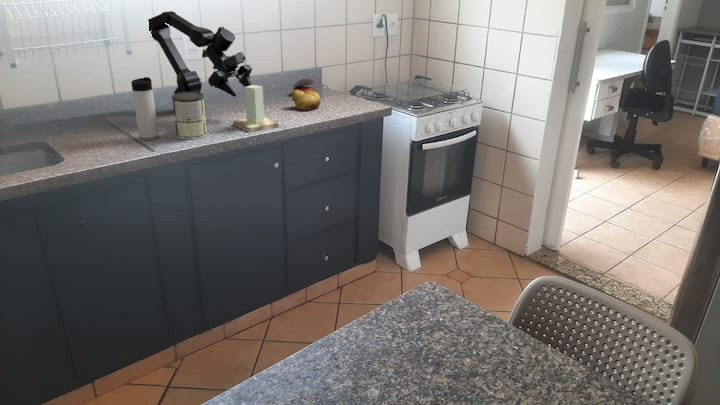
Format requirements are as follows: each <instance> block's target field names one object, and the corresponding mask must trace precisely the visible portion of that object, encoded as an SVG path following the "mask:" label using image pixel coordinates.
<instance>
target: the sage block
mask: <svg viewBox="0 0 720 405" xmlns="http://www.w3.org/2000/svg"><path fill="white" fill-rule="evenodd" d="M244 94H245V95H244V96H245V97H244V98H245V111H246V112H245V113H246V118H247V122H249V123H254V124H258V123H261V122H264V117H265V109H264V108H265V106H264V103H265V102H264V86H263V85H262V86H261V85H257V84H251V86H247V87H244Z"/></svg>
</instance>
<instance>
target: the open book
mask: <svg viewBox="0 0 720 405" xmlns="http://www.w3.org/2000/svg"><path fill="white" fill-rule="evenodd" d="M233 125H234V126H236V127H238V128H240V129H241V130H244V131H246V132H248V133H252V132H257V131H263V130H268V129H269V130H270V129H275V128H279V122H277V121H275V120H272V119H270V118H268V117H266V116H264V122H261V123H258V124H254V123H249V122H247V117H246V118H242V119H241V118H239V119H234V120H233Z"/></svg>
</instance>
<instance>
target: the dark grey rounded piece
mask: <svg viewBox="0 0 720 405" xmlns="http://www.w3.org/2000/svg"><path fill="white" fill-rule="evenodd" d="M314 82H315V81H314V79H311V78H306V77H305V78H302V79H300V80H298V81H297V82H296V83H294V85H292V86H293V91H294V90H300V91H303V92H306V91H314V92H316V88H315V87H313V86H310V85H312V84H314Z"/></svg>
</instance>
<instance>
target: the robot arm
mask: <svg viewBox="0 0 720 405" xmlns="http://www.w3.org/2000/svg"><path fill="white" fill-rule="evenodd" d="M150 18H151V19H149V20H148V21H149V31H151V30H152V31H151V34H152V37H153V38H152V37H151V38H152V39H153V40H155V42H157V43H158V44H159V46H160V48H161V49H162V51H163V53H164V55H165V56H166V58H167V60H168V62H169V64H170V66H171V67H172V69H173V70H174V72H175V74H176V84H177V87H176V88H175V89H174V92H173V95H174V94H176V93H181V92H199V93H201V90H202V86H203V84H202V81H201V80H202V79H201V78H200V77H199V75H198V72H197V71H196V70H192V71H191V70H190V69H189V68H188V66H187V65H186V63H185V61H184V59H183V57H182V55H181V53H180V52H179V50H178V48H177V46H176V44H175V42H174V41H173V39H172V38H171V27H173V28H174V29H176V30H177V31H179V32H180V33H182V34H184V35H185V36H187V37H188V38H189V41H190V42H191V43H192V44H194V46H196V47H198V48H205V47H206V48H205V49H203V50H202V52H201V57H202V58H208V59H209V61H210V62H211V63H212V65H213V67H212V68H213V70H214V71H213V72H212V73H211V75H210V76H209V77H208V79H207V83H208V85H210V87H211V88H212V87H214V88H217V89H219V90H221V91H223V92H225V93H226V94H228V95H230V96H232V97H234V98H235V97H236V96H237V93H236V91H235V89H234V88H233V86H232V85H231V84H230V82H229V78H236V79H237V80H238V82H239V83H240V84H241V85H242V86H243V87H244V88H245V87H247V86H251V85H252V82H251V78H250V77H251V73H252V71H253V67H252V66H251V65H250V64H244V63H245V60H246V55H245V54H244V53H243V52H242V51H240V52H237V53H236V54H233V55H231V56H230V55H226V54H225V53H224V52H227V51H228V50H229V49H230V47H231V46H232V45H233V43H234V42H235V40H236V37H235V34H234V33H233V32H232V31H230V30H228V29H227V28H225V26H219V27H218V28H217V30H216V32H214V31H212V30H211V29H208V28H205V27H201V26H198V25H195V24H193V23H191V22H190V21H189V20H187V19H185V18H184V17H182V16H180V15H179V14H177V13H176V12H175V11H171V10H169V11H163V12H162V13H160V14H158V15H156V16H154V17H153V16H152V17H150ZM165 23H167V24H169V25H170V26H171V27H169V26H168V25H166V24H165ZM240 64H243V65H240ZM239 65H240V66H239Z"/></svg>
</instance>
